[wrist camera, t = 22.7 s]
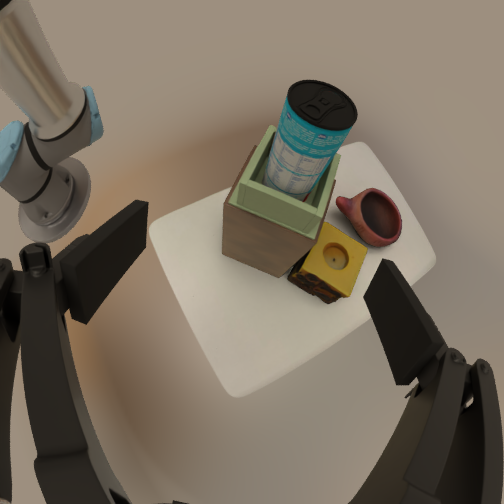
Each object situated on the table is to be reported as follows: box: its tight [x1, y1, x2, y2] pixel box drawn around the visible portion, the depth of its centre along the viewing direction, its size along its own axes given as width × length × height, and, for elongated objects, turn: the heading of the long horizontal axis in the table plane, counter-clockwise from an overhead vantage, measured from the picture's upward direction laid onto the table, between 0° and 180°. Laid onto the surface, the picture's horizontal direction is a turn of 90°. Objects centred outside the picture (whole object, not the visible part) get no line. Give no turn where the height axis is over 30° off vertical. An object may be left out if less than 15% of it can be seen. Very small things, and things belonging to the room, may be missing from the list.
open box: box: [228, 125, 341, 240], centre depth 31 cm, size 11×10×5 cm
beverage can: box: [262, 80, 358, 202], centre depth 26 cm, size 6×6×15 cm
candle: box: [288, 222, 368, 304], centre depth 49 cm, size 10×10×10 cm
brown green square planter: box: [222, 145, 336, 278], centre depth 44 cm, size 12×10×22 cm
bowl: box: [336, 188, 402, 247], centre depth 54 cm, size 16×13×8 cm
